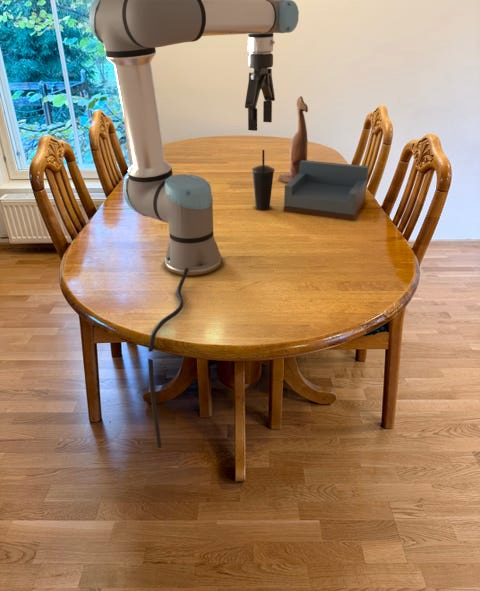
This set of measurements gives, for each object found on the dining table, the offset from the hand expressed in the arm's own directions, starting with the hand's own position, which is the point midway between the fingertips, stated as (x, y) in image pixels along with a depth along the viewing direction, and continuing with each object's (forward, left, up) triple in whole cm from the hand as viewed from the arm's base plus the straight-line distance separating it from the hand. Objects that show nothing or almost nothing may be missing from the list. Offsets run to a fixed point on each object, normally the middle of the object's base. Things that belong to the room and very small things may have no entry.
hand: (260, 126), depth 158 cm
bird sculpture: (+34, -3, -28) cm, 44 cm away
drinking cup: (0, -1, -28) cm, 28 cm away
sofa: (+9, -21, -28) cm, 36 cm away
